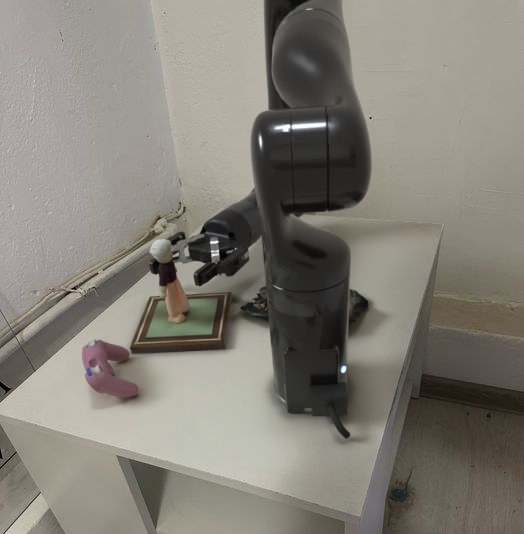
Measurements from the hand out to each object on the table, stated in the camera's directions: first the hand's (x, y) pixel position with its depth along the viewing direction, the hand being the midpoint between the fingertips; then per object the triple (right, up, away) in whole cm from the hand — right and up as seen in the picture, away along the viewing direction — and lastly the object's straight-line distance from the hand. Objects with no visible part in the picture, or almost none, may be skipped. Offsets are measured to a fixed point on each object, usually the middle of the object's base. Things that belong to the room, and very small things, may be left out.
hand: (173, 274), depth 71 cm
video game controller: (-7, -16, -4) cm, 18 cm away
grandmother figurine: (0, -5, +6) cm, 8 cm away
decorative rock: (+20, -5, +6) cm, 21 cm away
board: (+1, -7, +6) cm, 9 cm away
